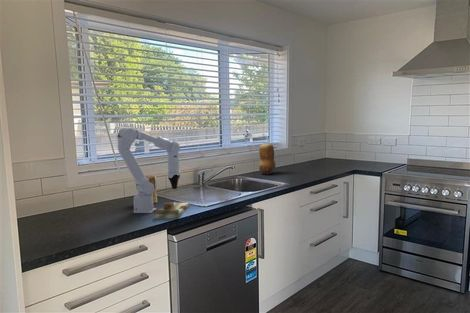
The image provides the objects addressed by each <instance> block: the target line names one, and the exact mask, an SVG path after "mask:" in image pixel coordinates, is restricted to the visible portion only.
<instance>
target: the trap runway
mask: <svg viewBox="0 0 470 313" xmlns="http://www.w3.org/2000/svg"><path fill="white" fill-rule="evenodd" d="M189 205H190V203H189V202H174V210H164V208H159V209H156V210H154V211H153V219H180V217H181V216H182V215H183V214H184V212H185V211H186V210H187V209H188V208H189V207H190V206H189Z"/></svg>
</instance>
